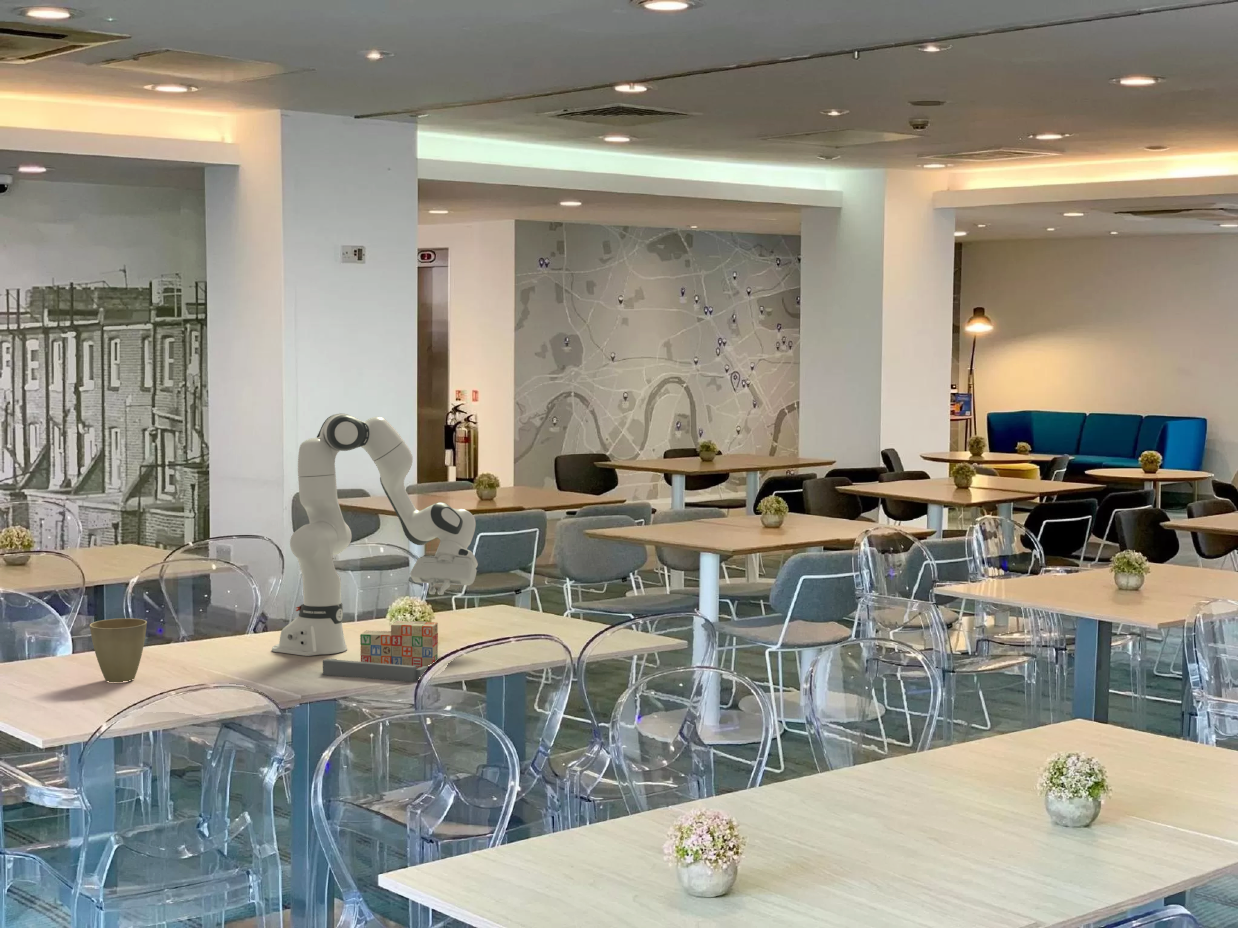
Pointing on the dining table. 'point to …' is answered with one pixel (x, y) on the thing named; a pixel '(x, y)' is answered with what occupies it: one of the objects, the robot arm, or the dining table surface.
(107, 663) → the plant pot
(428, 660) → the stack of blocks
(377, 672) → the frame
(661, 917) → the dining table surface
